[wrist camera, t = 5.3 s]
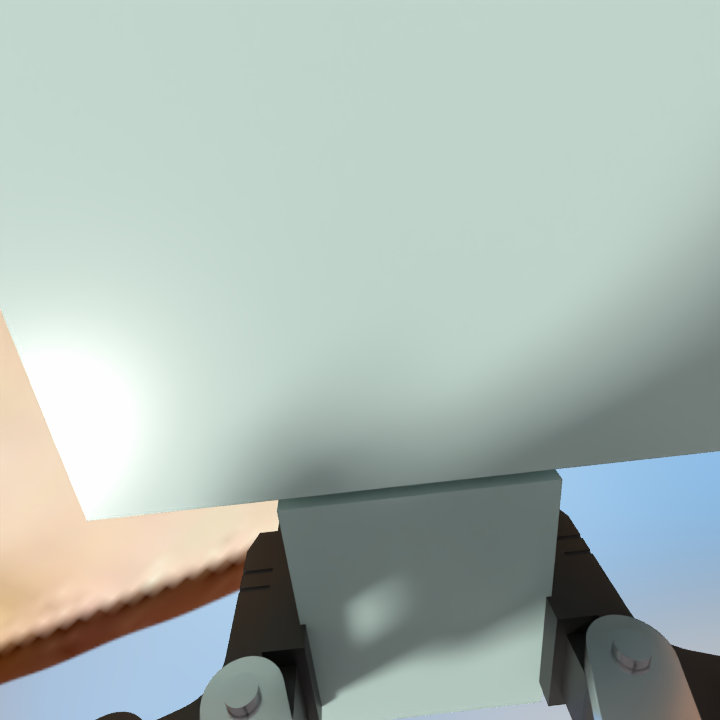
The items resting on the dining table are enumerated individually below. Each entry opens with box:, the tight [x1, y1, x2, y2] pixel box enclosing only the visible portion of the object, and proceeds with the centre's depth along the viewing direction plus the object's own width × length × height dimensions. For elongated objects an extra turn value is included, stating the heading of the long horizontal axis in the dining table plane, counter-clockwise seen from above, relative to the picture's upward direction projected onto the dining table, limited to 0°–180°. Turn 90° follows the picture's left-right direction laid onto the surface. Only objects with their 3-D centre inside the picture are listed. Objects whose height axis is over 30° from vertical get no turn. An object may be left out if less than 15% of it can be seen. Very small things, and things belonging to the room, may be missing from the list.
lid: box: [0, 0, 720, 720], centre depth 6 cm, size 18×11×2 cm, turn 5°
